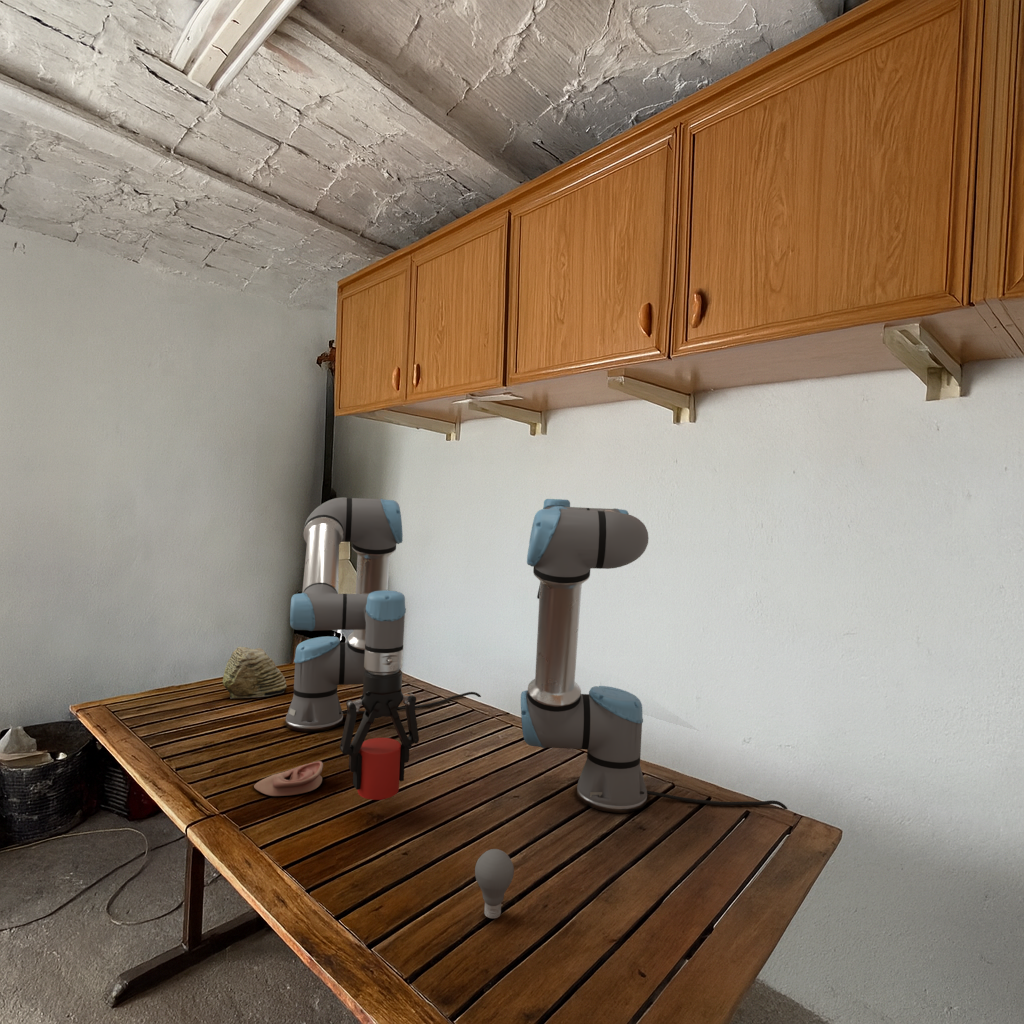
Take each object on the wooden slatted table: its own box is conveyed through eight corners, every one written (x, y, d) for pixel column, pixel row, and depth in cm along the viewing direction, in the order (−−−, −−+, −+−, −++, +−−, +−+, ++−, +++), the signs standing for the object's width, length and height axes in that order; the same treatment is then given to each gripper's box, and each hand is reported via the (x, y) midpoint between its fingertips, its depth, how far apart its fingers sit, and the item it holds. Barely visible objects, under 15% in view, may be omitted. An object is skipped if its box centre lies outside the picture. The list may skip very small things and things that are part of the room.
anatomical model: (246, 773, 134) (276, 753, 145) (245, 792, 134) (276, 770, 145) (303, 782, 131) (330, 760, 142) (302, 801, 131) (329, 777, 142)
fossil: (218, 695, 195) (220, 647, 195) (278, 685, 208) (279, 640, 207) (228, 703, 189) (230, 653, 188) (289, 692, 201) (290, 645, 201)
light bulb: (472, 903, 100) (475, 841, 100) (510, 903, 101) (513, 841, 101) (473, 929, 94) (476, 863, 94) (513, 928, 95) (516, 862, 95)
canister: (348, 791, 125) (350, 746, 125) (378, 777, 132) (379, 734, 132) (378, 804, 121) (380, 757, 121) (407, 788, 128) (409, 744, 127)
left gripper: (334, 680, 117) (329, 801, 118) (439, 669, 128) (434, 780, 128) (325, 669, 124) (320, 783, 125) (425, 660, 134) (421, 765, 135)
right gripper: (528, 550, 187) (525, 621, 188) (556, 558, 163) (553, 640, 164) (552, 550, 189) (549, 621, 190) (583, 559, 165) (580, 639, 166)
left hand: (378, 782), depth 127 cm, fingers closed on canister, 8 cm apart
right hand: (551, 630), depth 177 cm, fingers open, 13 cm apart
